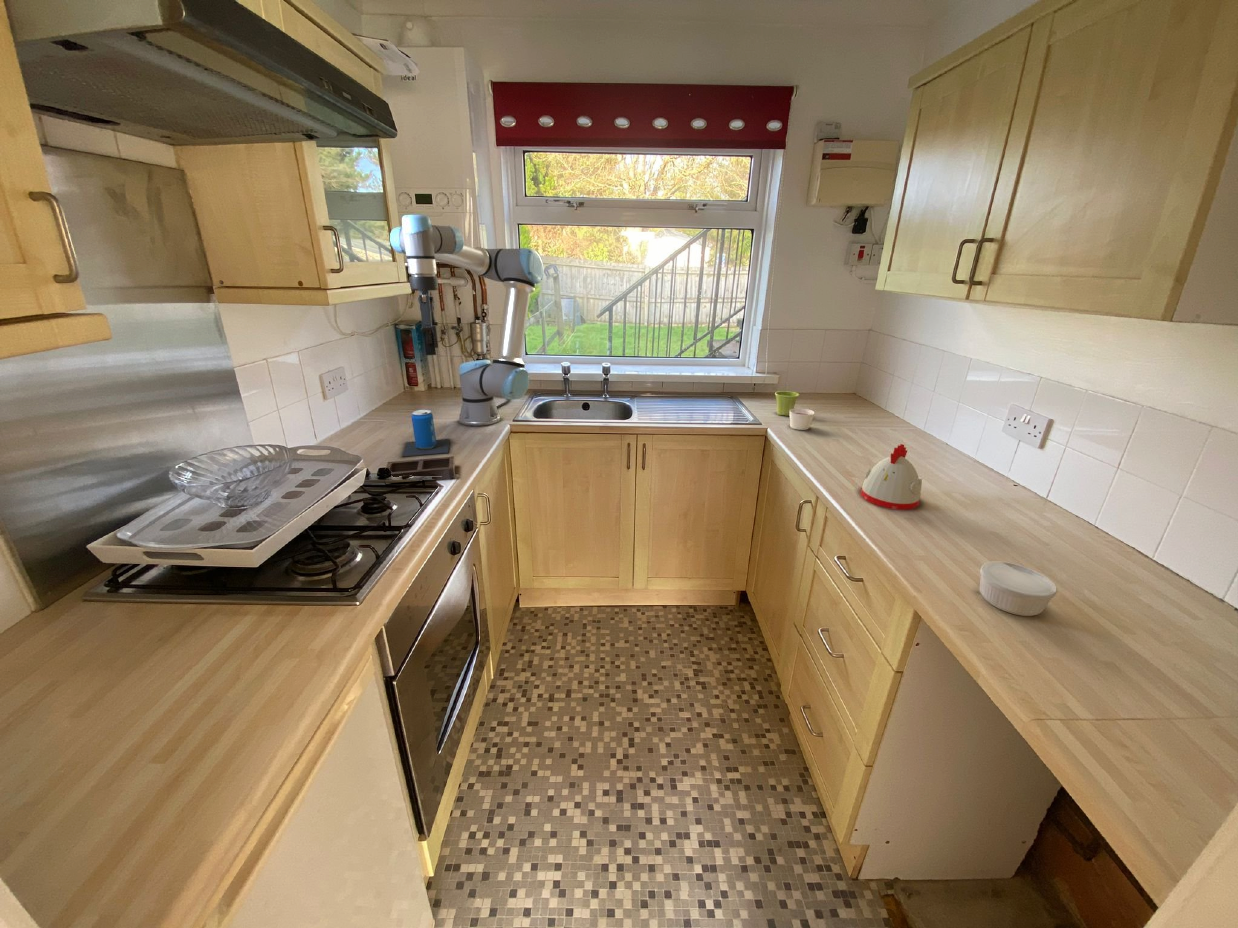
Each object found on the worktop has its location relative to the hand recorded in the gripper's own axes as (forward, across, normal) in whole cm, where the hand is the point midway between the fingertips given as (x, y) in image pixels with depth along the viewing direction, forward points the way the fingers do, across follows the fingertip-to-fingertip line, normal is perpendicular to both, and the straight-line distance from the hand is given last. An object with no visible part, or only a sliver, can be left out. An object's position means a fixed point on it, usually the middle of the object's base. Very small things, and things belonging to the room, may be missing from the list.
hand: (432, 351), depth 152 cm
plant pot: (+33, -14, +134) cm, 139 cm away
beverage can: (+32, -7, -6) cm, 34 cm away
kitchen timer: (+33, +65, +115) cm, 136 cm away
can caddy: (+33, +17, -6) cm, 37 cm away
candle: (+33, +4, +129) cm, 133 cm away
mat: (+33, -7, -6) cm, 34 cm away
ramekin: (+33, +108, +103) cm, 153 cm away
